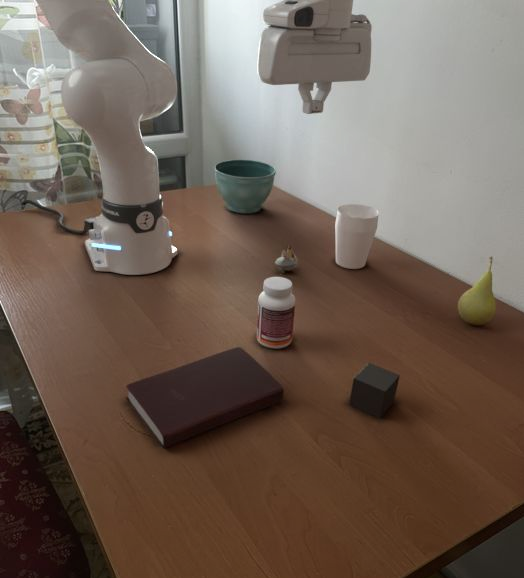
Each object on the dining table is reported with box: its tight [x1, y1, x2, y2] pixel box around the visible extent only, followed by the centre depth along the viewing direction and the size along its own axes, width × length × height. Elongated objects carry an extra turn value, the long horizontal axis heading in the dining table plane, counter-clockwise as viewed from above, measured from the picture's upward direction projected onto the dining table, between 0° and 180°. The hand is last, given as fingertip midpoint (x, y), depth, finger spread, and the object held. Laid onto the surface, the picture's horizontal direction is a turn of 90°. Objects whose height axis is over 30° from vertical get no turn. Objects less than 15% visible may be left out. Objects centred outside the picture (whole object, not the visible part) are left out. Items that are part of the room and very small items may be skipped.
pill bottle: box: [256, 276, 296, 350], centre depth 92 cm, size 6×6×11 cm
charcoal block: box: [348, 362, 401, 419], centre depth 80 cm, size 5×5×5 cm
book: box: [125, 346, 285, 449], centre depth 79 cm, size 12×19×3 cm, turn 124°
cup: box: [334, 203, 380, 270], centre depth 120 cm, size 9×9×12 cm
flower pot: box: [213, 159, 277, 214], centre depth 146 cm, size 16×16×11 cm
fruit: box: [457, 255, 497, 326], centre depth 100 cm, size 7×8×12 cm
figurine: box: [274, 245, 299, 274], centre depth 116 cm, size 5×4×6 cm
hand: (312, 112), depth 89 cm, fingers closed
